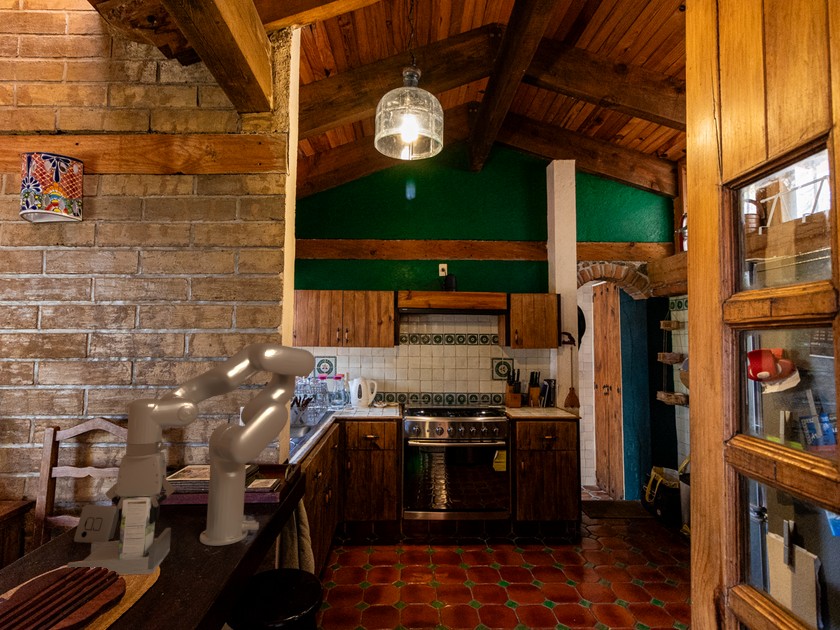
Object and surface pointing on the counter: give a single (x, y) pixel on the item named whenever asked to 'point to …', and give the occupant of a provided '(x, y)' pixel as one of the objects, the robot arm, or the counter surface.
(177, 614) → the counter surface
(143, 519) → the syrup box
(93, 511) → the electrical switch
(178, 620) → the counter surface
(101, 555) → the grey u-shaped piece
